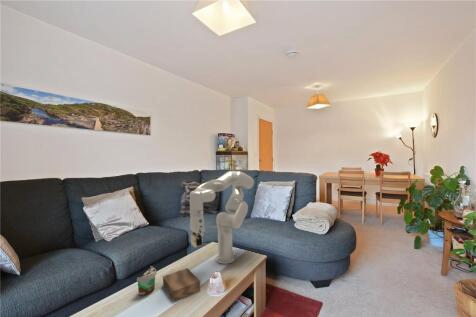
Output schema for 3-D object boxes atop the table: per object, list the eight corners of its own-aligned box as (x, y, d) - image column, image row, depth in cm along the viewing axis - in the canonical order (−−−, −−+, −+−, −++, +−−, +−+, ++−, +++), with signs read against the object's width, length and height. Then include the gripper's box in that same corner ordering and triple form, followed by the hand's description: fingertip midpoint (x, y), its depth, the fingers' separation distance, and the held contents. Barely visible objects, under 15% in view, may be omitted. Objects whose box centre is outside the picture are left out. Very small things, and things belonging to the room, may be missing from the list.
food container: (148, 299, 112) (147, 279, 112) (137, 297, 113) (136, 277, 113) (161, 284, 124) (160, 266, 124) (151, 283, 125) (150, 265, 125)
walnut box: (187, 276, 131) (187, 268, 131) (200, 290, 118) (200, 280, 118) (162, 285, 123) (162, 276, 123) (173, 301, 110) (173, 291, 109)
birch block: (198, 242, 134) (198, 232, 134) (202, 245, 130) (202, 235, 130) (191, 244, 131) (191, 234, 131) (194, 247, 127) (194, 237, 127)
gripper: (209, 214, 126) (210, 246, 126) (196, 208, 139) (196, 237, 140) (197, 216, 121) (197, 250, 122) (184, 210, 135) (184, 240, 135)
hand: (197, 243), depth 131 cm, fingers closed on birch block, 5 cm apart
